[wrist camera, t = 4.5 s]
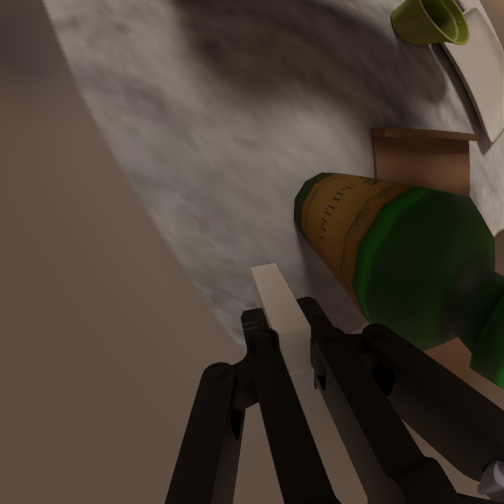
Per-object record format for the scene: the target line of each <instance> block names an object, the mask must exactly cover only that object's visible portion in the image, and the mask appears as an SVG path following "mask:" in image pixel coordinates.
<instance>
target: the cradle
mask: <svg viewBox="0 0 504 504" xmlns="http://www.w3.org/2000/svg"><path fill="white" fill-rule="evenodd" d="M371 135H372V145H373V155H374V168H375V178H376V179H383V180H389V181H395V182H401V183H407V184H412V185H418V186H423V187H428V188H433V189H437V190H442V191H447V192H451V193H455V194H460V195H464V196H468V197H469V189H470V159H469V140H472V141H480V137H479V135H476V134H468V133H459V132H450V131H438V130H424V129H402V128H376V129H371Z"/></svg>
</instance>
